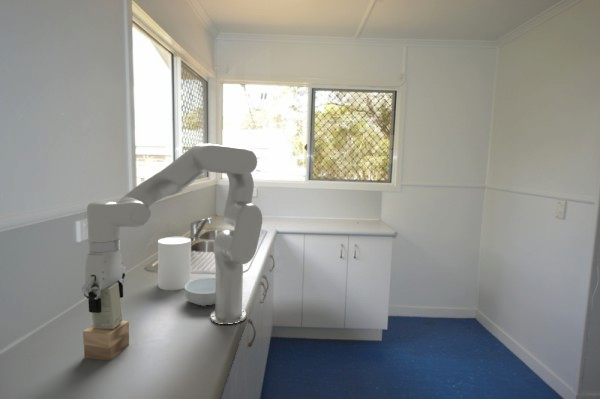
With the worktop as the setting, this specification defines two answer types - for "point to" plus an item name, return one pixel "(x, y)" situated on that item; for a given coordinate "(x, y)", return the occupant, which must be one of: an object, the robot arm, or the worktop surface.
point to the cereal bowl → (201, 291)
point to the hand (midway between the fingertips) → (107, 304)
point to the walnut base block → (106, 350)
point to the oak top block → (105, 335)
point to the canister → (174, 262)
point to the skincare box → (108, 308)
